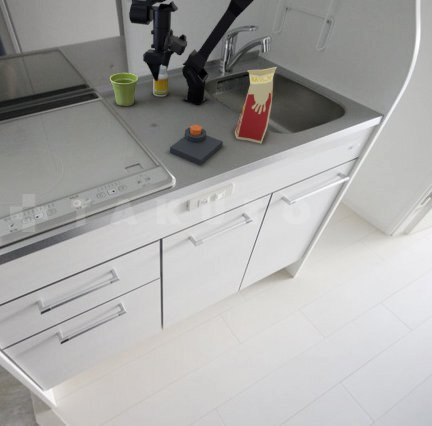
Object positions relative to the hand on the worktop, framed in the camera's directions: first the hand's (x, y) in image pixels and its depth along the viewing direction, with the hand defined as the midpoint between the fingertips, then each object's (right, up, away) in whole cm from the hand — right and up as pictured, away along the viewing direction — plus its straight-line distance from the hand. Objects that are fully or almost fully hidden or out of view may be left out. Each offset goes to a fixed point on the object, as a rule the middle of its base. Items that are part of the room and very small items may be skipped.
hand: (160, 76), depth 109 cm
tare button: (+10, -26, -22) cm, 35 cm away
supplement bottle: (0, -5, +5) cm, 7 cm away
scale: (+10, -31, -22) cm, 40 cm away
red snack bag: (+27, -25, -15) cm, 40 cm away
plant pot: (-13, -10, -1) cm, 16 cm away
